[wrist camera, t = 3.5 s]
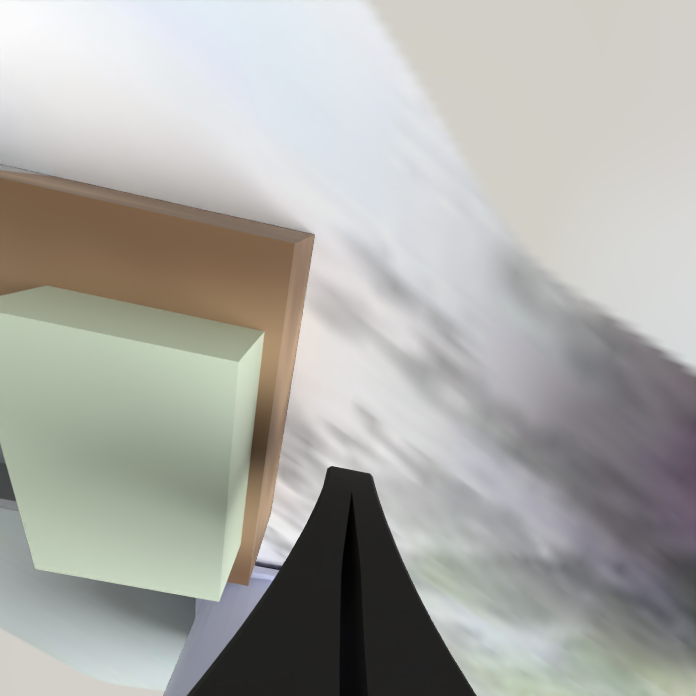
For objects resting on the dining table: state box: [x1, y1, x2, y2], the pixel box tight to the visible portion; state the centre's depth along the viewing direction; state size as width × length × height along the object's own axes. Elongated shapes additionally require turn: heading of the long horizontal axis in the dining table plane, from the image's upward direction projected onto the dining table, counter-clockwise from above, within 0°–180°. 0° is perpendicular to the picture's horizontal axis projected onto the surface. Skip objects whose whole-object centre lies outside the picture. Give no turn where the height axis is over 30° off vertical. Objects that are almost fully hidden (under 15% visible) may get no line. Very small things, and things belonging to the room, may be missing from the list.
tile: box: [0, 285, 265, 602], centre depth 10 cm, size 9×6×2 cm, turn 168°
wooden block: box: [0, 170, 315, 586], centre depth 12 cm, size 14×9×4 cm, turn 168°
